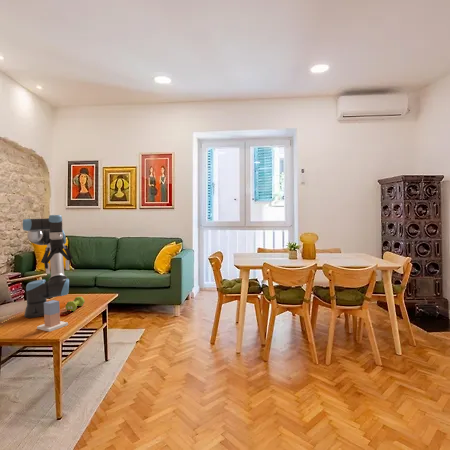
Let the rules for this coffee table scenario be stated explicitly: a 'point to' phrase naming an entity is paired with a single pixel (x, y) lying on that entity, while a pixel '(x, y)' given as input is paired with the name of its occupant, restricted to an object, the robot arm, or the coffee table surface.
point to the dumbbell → (74, 303)
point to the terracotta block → (52, 319)
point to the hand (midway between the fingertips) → (58, 271)
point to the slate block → (51, 307)
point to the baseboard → (47, 328)
